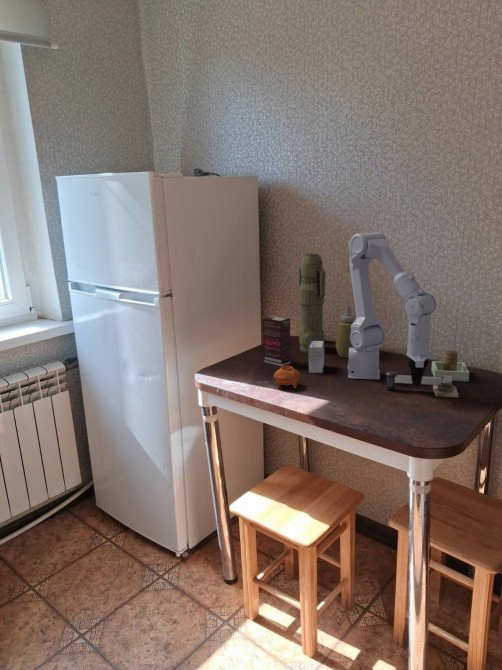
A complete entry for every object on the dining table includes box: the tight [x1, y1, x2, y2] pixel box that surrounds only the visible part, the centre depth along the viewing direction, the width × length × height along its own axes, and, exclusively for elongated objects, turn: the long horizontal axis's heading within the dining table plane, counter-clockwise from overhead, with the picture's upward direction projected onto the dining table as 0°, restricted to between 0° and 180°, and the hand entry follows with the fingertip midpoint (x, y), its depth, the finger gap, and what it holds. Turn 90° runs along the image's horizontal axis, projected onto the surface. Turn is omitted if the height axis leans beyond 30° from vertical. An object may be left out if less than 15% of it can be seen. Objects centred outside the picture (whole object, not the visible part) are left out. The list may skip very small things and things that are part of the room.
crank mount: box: [432, 384, 459, 398], centre depth 157 cm, size 16×16×2 cm
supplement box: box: [262, 315, 292, 367], centre depth 181 cm, size 9×5×16 cm, turn 46°
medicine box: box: [308, 340, 325, 374], centre depth 174 cm, size 8×4×9 cm, turn 168°
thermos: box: [298, 253, 326, 354], centre depth 192 cm, size 9×12×35 cm
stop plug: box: [442, 349, 459, 371], centre depth 164 cm, size 4×4×7 cm
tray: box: [431, 360, 470, 383], centre depth 165 cm, size 10×10×3 cm
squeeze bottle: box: [335, 304, 355, 359], centre depth 186 cm, size 8×8×18 cm
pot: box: [273, 365, 301, 390], centre depth 160 cm, size 8×8×7 cm
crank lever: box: [385, 370, 453, 390], centre depth 153 cm, size 18×3×5 cm, turn 76°
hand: (416, 384), depth 152 cm, fingers closed, pressing on crank lever
